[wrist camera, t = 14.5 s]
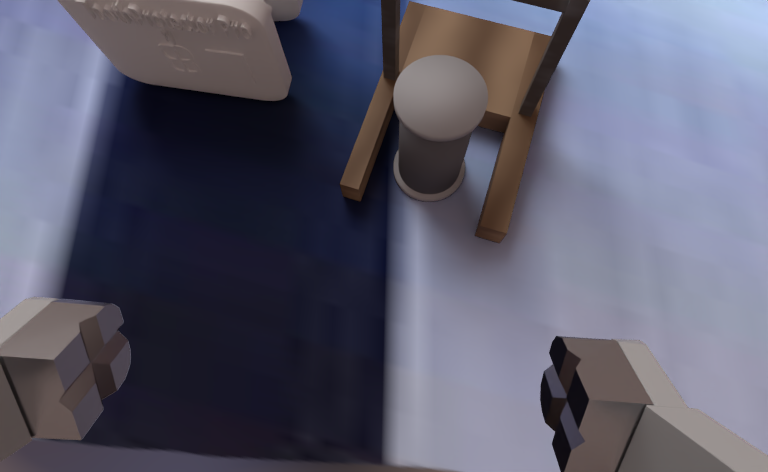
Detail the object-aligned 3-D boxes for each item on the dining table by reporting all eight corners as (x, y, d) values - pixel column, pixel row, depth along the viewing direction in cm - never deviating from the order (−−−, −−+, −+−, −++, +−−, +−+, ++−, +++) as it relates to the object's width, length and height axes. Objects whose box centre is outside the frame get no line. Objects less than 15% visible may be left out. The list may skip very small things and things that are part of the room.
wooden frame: (342, 196, 39) (315, 92, 25) (408, 21, 44) (415, -145, 30) (499, 243, 38) (561, 160, 24) (549, 57, 43) (623, -101, 29)
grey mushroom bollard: (384, 190, 39) (381, 122, 29) (405, 129, 41) (409, 45, 31) (453, 210, 39) (474, 148, 28) (471, 148, 40) (498, 68, 30)
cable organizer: (317, 15, 45) (291, -108, 34) (291, 114, 42) (254, 15, 30) (162, -5, 46) (88, -131, 35) (126, 90, 43) (32, -14, 31)
